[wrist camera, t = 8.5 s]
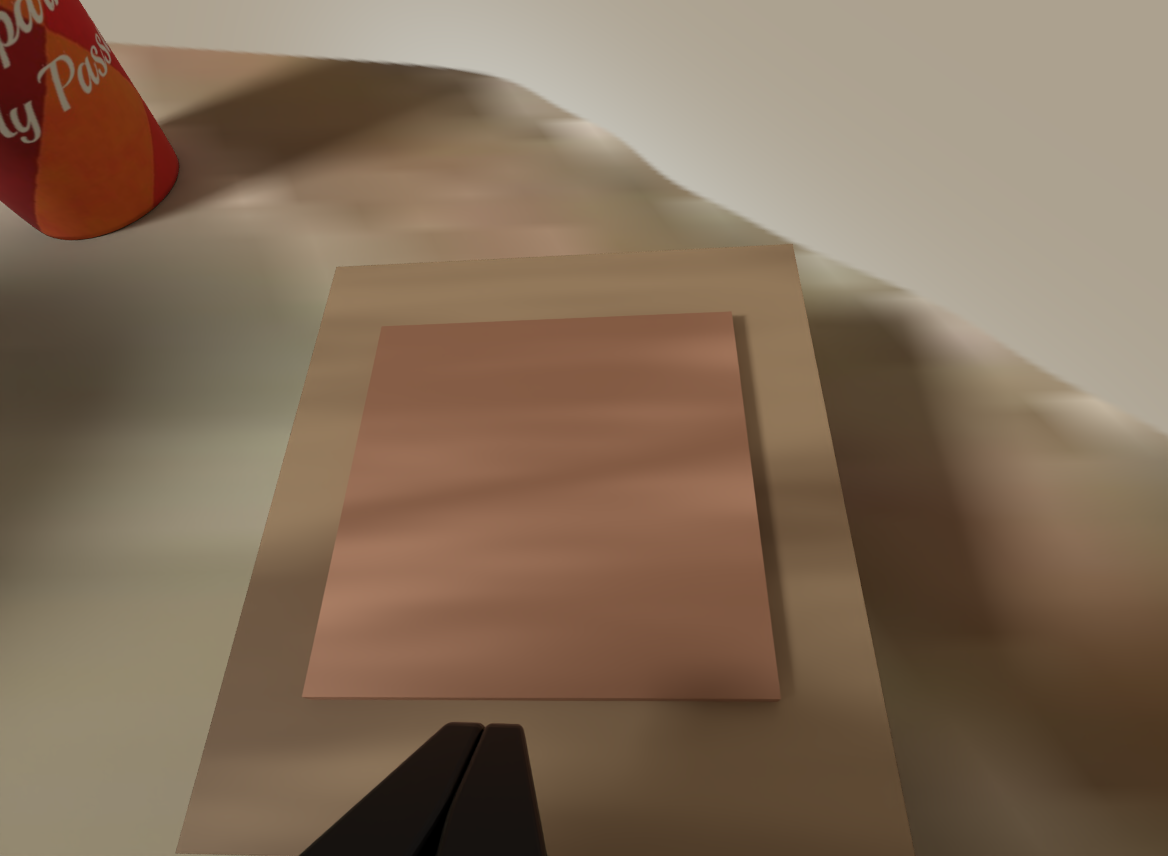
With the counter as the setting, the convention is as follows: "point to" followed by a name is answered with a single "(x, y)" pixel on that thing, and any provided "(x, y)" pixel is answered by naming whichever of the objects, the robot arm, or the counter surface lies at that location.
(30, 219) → the paper cup
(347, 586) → the wooden box
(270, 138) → the counter surface
